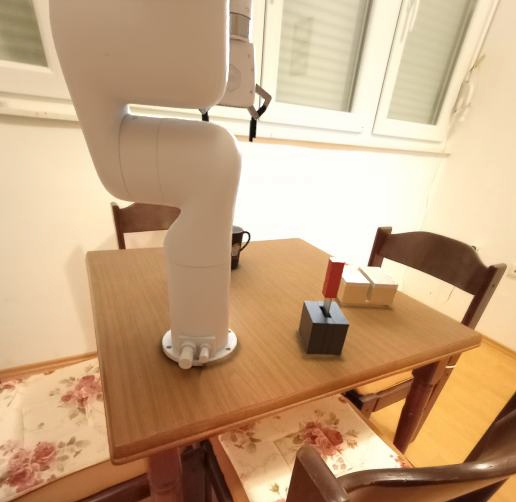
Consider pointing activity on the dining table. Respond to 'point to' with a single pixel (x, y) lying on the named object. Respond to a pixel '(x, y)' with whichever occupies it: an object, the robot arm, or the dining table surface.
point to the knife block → (322, 329)
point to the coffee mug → (237, 245)
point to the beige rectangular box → (366, 286)
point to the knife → (332, 283)
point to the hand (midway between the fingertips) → (229, 139)
